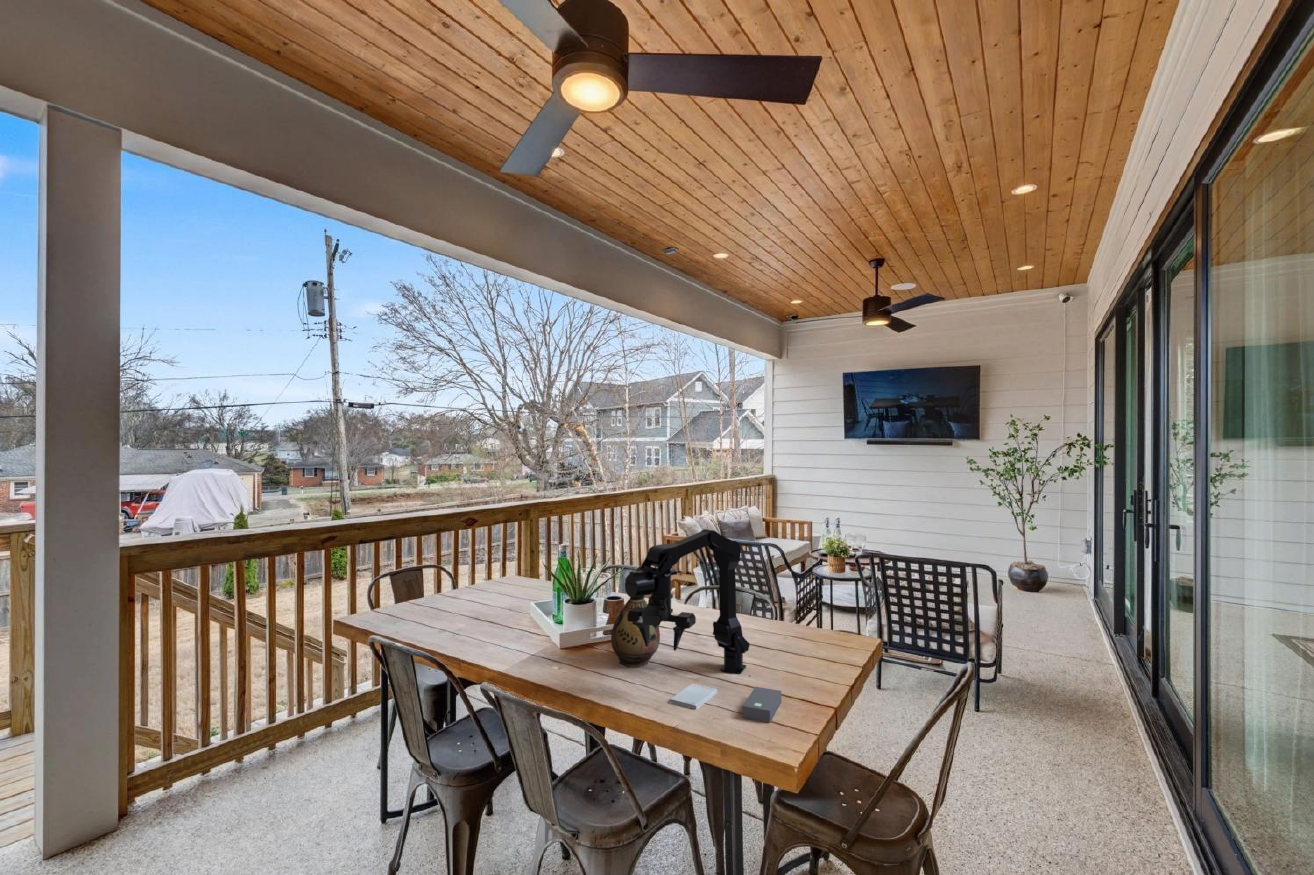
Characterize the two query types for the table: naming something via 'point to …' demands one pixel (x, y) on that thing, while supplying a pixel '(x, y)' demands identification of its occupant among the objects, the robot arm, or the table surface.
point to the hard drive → (693, 696)
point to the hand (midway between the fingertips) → (661, 648)
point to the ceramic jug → (633, 637)
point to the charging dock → (761, 704)
